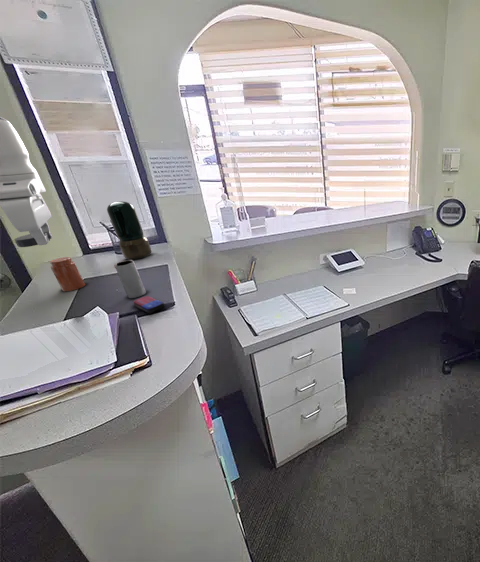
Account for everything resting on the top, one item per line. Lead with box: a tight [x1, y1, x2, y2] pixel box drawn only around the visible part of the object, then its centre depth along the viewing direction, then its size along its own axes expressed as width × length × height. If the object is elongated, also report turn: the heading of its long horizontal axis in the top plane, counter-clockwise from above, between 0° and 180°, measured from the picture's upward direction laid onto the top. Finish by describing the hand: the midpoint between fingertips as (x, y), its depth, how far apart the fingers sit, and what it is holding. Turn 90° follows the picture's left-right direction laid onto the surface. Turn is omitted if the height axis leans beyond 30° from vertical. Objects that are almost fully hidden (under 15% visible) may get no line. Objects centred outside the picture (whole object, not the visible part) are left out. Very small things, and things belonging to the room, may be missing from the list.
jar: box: [49, 256, 86, 292], centre depth 98 cm, size 6×6×10 cm
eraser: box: [133, 295, 165, 315], centre depth 84 cm, size 11×4×2 cm, turn 57°
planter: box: [114, 259, 147, 299], centre depth 90 cm, size 4×4×10 cm
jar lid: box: [13, 232, 51, 248], centre depth 79 cm, size 6×6×2 cm
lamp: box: [106, 200, 153, 260], centre depth 121 cm, size 10×10×22 cm
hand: (46, 241), depth 81 cm, fingers closed on jar lid, 5 cm apart
